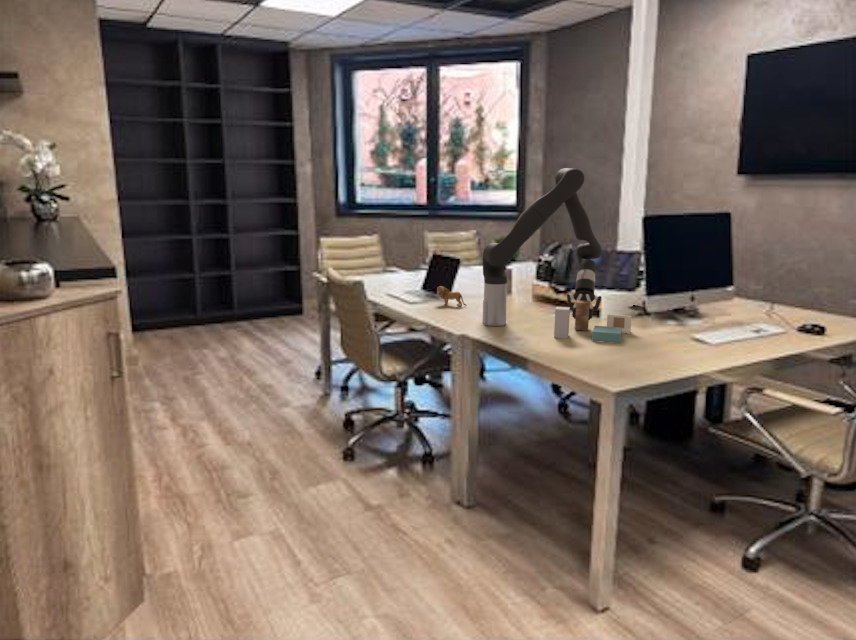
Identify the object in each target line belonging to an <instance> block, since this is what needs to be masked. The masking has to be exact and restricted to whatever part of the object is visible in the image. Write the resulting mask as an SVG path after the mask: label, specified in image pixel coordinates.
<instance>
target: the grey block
mask: <svg viewBox="0 0 856 640" xmlns="http://www.w3.org/2000/svg"><path fill="white" fill-rule="evenodd" d="M570 311H571V310H570V307H568V306H556V307H555V309H554V329H553V338H554V337H558V338H559V339H569V333H570V332H569V331H570V315H571V314H570V313H571V312H570ZM558 338H557V339H558Z"/></svg>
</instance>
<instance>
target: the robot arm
mask: <svg viewBox="0 0 856 640" xmlns="http://www.w3.org/2000/svg"><path fill="white" fill-rule="evenodd" d="M554 181H555V186H554V187H553V188H552V189H551V190H550V191H549V192H547V193H545V194H544V195H542V196H541V197H539V198H537V199H536V200H535V201H533V202H532V203H531V204H530V205H528V206H527V208H525V210H523V212H522V213H520V215H519V216H518V218H517V219H516V221H515V223H514V225H513V227H512V229H511V230H510V231H509V233H508V234H507V235H506V236H505V237H504V238H503V239H502V240H500V241H499V242H490V243H489V244H487V245H486V246H485V248H484V249H483V253H482V274H483V283H484V284H483V286H484V287H483V300H482V323H483V325H484V326H490V327H502V326H505V325H507V299H508V298H507V297H508V294H507V293H508V276H507V273H506V271H505V266H506V265H507V264H508V263H509V262H510V261H511V259H512V258H513V257H514V255H516V253H517V252H518V251H519V249H520V248H521V247H522V246H523V245H524V244H525V243H526V242H527V241H528V240H529V239H530V238H531V237H532V236H533V235H534V234H535V233H536V232H537V231H538V230H540V228H542V226H544V224H545V223H546V222H547V221H548V220H549V218H551V217H552V216H553V215H554V213H556V211H558V209H559V208H560V207H561V206H562V205H563V204H564V205H565V207H566V210H567V213H568V216H569V219H570V222H571V226H572V229H573V233H574V235H575V239H576V240H578V241H585V242H586V243H581V244H578V245H577V247H576V248H575V256H576V259H577V274H576V280H575V288H574V290H575V291H574V293H573V294H569V293H567V294H566V301H567V307H570V311H572V314H571V316H572V318H573V319H574V320H575V316H576V302H577V300H586V301H590V307H589V308H590V309H589V320H590V321H591V320H592V318H593V312H598V311H599V307H600V305H601V303H602V296H601V295H599V296H597V295H595V289H596V288H595V285H596V270H597V269H596V266H597V265H596V262H595V261H593V260H594V259H599V258H600V257H601V256H602V253H603V250H602V246H601V244H600V242H599V241H598V239H597V238H596V235H595V234H594V232H593V230H592V226H591V221H590V218H589V216H588V214H587V212H586V210H585V209H584V206H583V205H582V203H581V201H580V199H579V196H578V193H577V192H578V191H579V190H580V189H581V188H582V186H583V184H584V181H585V174H584V172H583V171H582V170H581V169H578V168H575V167H573V168H571V167H564V168H560V169H559V170H558V171H557V172H556V174H555V177H554ZM573 299H574V301H575V302H574V304H573V305H572V301H573ZM593 301H595V305H594V306H593Z"/></svg>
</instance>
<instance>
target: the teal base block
mask: <svg viewBox="0 0 856 640" xmlns="http://www.w3.org/2000/svg"><path fill="white" fill-rule="evenodd" d="M622 335H623V333H622V328H619V327H607V325H606V326H605V325H604V326H603V325H594V327H593V330H592V333H591V341H592V340H593V341H592V342H596V341H604V342H603V343H608V342H614V343H613V344H620V343H621V340H622V337H623V336H622Z"/></svg>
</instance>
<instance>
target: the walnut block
mask: <svg viewBox="0 0 856 640" xmlns="http://www.w3.org/2000/svg"><path fill="white" fill-rule="evenodd" d="M575 302H576V301H575ZM589 307H590V301H586V300H577V302H576V316H575V319H574V320H575V322H574V330H576V331H587V332H588V331H589V322H590V321H589V309H590V308H589Z"/></svg>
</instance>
